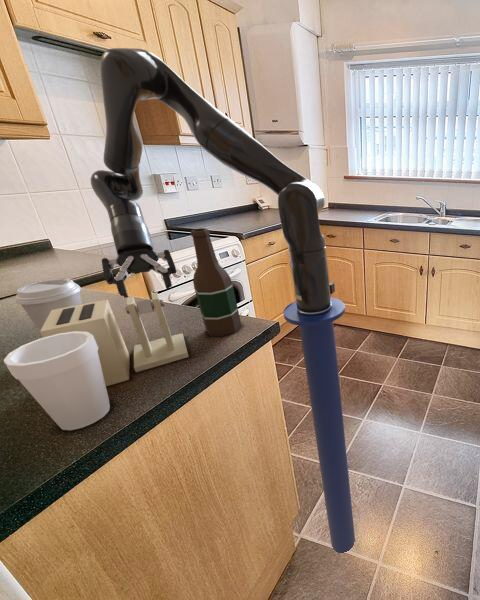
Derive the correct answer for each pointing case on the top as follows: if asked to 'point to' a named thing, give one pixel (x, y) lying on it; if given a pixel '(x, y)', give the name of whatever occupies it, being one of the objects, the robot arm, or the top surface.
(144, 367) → the lever bracket
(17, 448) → the top surface
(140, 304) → the lever
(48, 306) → the coffee cup
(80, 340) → the foam cup
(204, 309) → the beer bottle
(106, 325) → the toaster
